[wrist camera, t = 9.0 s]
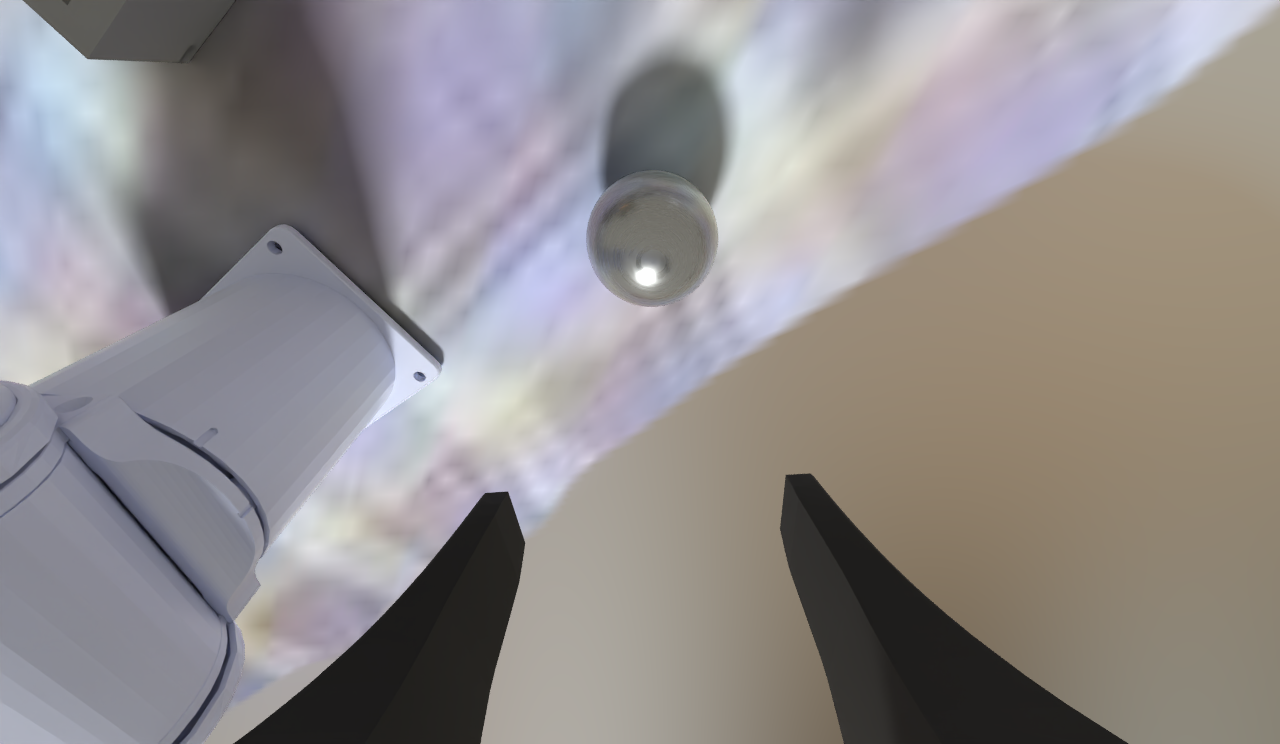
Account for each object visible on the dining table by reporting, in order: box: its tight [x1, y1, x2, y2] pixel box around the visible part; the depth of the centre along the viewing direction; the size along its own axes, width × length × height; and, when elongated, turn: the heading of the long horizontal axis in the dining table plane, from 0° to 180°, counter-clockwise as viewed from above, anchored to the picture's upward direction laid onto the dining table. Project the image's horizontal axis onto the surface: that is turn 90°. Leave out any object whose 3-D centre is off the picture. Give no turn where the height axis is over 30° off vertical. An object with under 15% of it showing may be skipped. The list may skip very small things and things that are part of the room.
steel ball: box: [586, 170, 718, 307], centre depth 16 cm, size 4×4×4 cm
